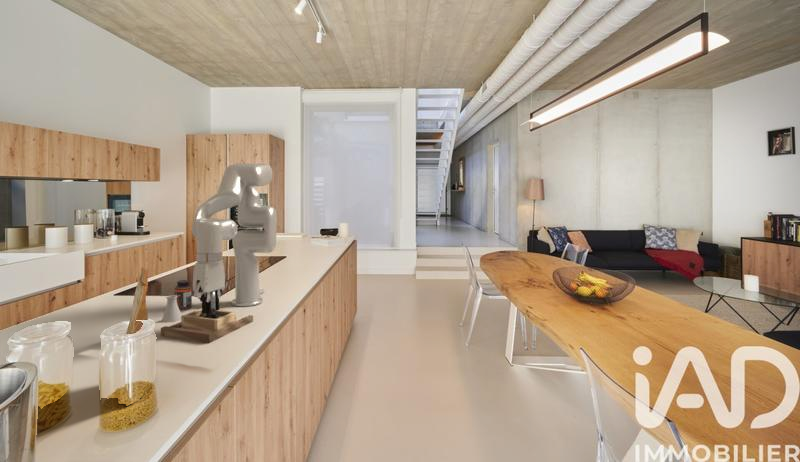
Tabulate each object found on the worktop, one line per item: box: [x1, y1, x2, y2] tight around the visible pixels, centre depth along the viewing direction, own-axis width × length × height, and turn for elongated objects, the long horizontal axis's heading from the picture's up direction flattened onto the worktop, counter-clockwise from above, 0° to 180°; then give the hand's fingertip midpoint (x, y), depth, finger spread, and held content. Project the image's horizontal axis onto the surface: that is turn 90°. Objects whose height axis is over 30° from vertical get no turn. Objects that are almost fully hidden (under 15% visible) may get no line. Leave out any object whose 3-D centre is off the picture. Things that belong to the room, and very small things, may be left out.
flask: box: [161, 294, 183, 323], centre depth 132 cm, size 7×7×10 cm
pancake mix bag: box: [125, 266, 149, 335], centre depth 86 cm, size 7×19×28 cm, turn 27°
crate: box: [180, 308, 237, 332], centre depth 124 cm, size 9×14×5 cm, turn 76°
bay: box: [160, 315, 254, 344], centre depth 124 cm, size 21×18×4 cm
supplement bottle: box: [174, 279, 193, 311], centre depth 150 cm, size 6×6×11 cm
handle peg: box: [206, 291, 216, 319], centre depth 124 cm, size 3×3×13 cm
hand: (210, 310), depth 124 cm, fingers closed on handle peg, 3 cm apart
